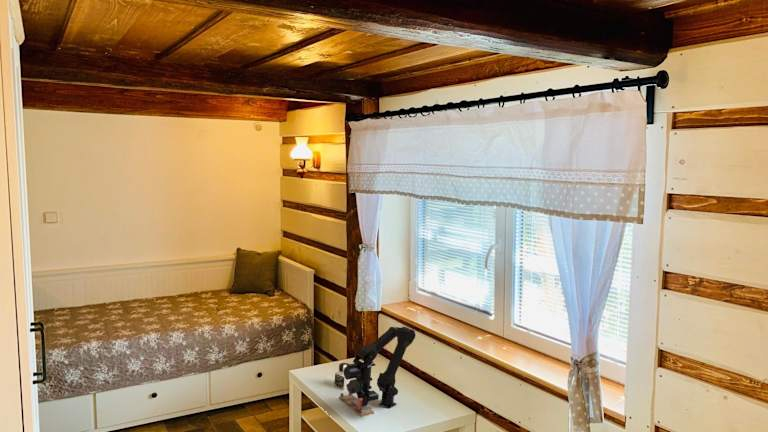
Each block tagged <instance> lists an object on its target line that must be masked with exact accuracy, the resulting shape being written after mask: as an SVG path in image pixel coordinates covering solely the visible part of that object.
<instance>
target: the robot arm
mask: <svg viewBox="0 0 768 432" xmlns="http://www.w3.org/2000/svg"><path fill="white" fill-rule="evenodd" d="M395 338H396V339H397V343H396V345H395V348H394V351H393V353H392V355H391V358H390V360H389V363H388V365H387V367H386V369H385V371H384V372H380V373H379V375H378V377H377V379H376V381H377V382H376V386H377V387H378V390H379V391H381V392H382V394H381V402H379V403H378V406H381V407H384V408H388V409H391V408H392V407H394V406H396V405H397V403H396V402H394V401H395V396H397V395H398V393H399V389H397V388H396V373H397V372H398V368H399V367H400V364H401V362H402V359H403V357H404V355H405V352H406V350H407V348H408V347H409V346H411V345H412V343H413V342H414V340H415V338H416V332H415V330H414V329H413V328H411V327H410V328H409V327H408V326H402V327H398V326H396V327H394V326H390V327H389V328H388V329H387V330H386V331H385V332H383V334H382V335H380V336H379V337H378V338H377V339H376V340H374V341H372V343H370V344H367V345H364V346H363V347H360V349H359V350H358V352H357V354H356V356H355V357H354V359H353V361H352V363H348V364H347V367H345V369H344V376H345V378H346V379H347V380H349V379H353V378H354V379H353V380H350V382H349V384H347V385H346V386H347V389H346V390H347V392H348V393H349V392H350V393H351V394H352V395H356V398H357V399H359V398H362V405H363V406H366V405H367V404H368V405H369V403H370V402H373V401H376V400H379V397H380V395H379V394H378V393H377V392H376V391H375V390H371V389H372V386H371V382H372V381H373V378H372V377H371V376H372V367H375V366H376V363H375V362H374V360H375V359H376V357H377V355H378V353H379V352H380V351H382V349H384V348H385V347H386V346H387V345H388V344H389V343H390V342H392V341H393V340H394V339H395ZM368 405H367V406H368Z"/></svg>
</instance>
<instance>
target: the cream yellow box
mask: <svg viewBox="0 0 768 432" xmlns="http://www.w3.org/2000/svg"><path fill="white" fill-rule="evenodd" d="M347 364H349V362H341V363H340V364H339V365H338V371H336V372H335V373H334V386H335V388H338V389H341V390H343V391H344V390H347V386H346V385H347V384H349V382H350V380H353V379H355V378H353V379H349V380H347V379H346V378H345V376H344V369H345V367H347Z"/></svg>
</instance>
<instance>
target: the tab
mask: <svg viewBox="0 0 768 432" xmlns="http://www.w3.org/2000/svg"><path fill="white" fill-rule="evenodd" d="M351 402H352V403H353V404H354V405H356V406H357V408H358V409H359V410H361V407H363V405H362V398H359V399H358V398H357V401H356V400H354V401H351ZM368 405H369V403H368V404H367V406H368Z"/></svg>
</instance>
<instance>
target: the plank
mask: <svg viewBox="0 0 768 432" xmlns="http://www.w3.org/2000/svg"><path fill="white" fill-rule="evenodd" d="M338 399H339V400H340V401H342V402H343V404H345V405H346V406H347V407H349V409H351V410H353V412H355V413H356V414H357V415H358V416H360V417H365V416H370V414H371V415H374V414H375V411H374V410H373V409H372V405H371V404H368V405H366V406H363V407H361V410H359V409H358V408H357V406H356V405H354V404H353V403H352V402H351V401H354V400H356V401H357V399H358V397H357V396H355V395H354V394H351V393H350V392H348V394H346V395H344V393H341V392H340V396H338Z"/></svg>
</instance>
